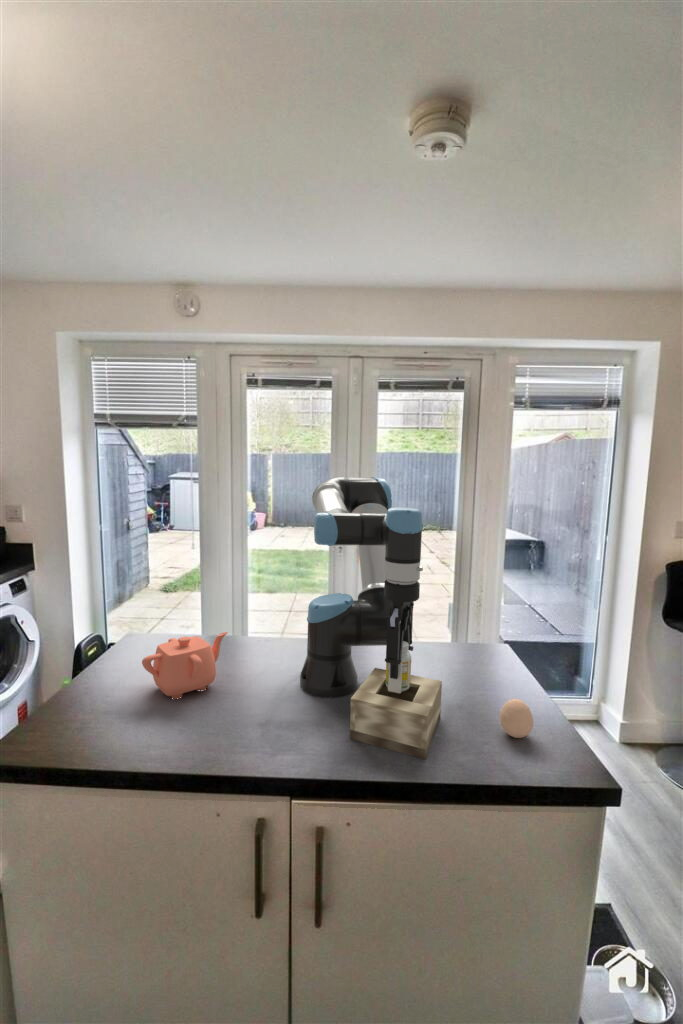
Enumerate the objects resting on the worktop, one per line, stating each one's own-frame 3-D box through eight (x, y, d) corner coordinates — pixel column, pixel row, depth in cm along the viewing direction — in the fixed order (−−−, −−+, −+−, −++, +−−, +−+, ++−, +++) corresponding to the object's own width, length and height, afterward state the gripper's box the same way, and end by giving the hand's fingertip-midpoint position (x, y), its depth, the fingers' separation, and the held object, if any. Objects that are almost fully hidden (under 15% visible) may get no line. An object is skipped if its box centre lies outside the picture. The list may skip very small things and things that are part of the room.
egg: (515, 748, 88) (517, 711, 88) (492, 730, 94) (494, 695, 94) (539, 740, 91) (541, 704, 90) (515, 724, 97) (517, 690, 96)
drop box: (349, 738, 90) (350, 698, 90) (374, 702, 105) (375, 667, 104) (425, 759, 84) (427, 716, 83) (440, 718, 99) (441, 681, 98)
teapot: (139, 702, 103) (138, 649, 102) (167, 672, 118) (167, 626, 117) (209, 705, 102) (209, 651, 101) (228, 674, 118) (228, 628, 117)
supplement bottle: (401, 694, 90) (403, 650, 89) (380, 686, 94) (381, 643, 93) (414, 685, 94) (416, 643, 93) (394, 677, 98) (395, 636, 97)
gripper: (408, 592, 82) (404, 709, 84) (428, 573, 99) (424, 671, 101) (371, 588, 85) (368, 701, 87) (396, 570, 102) (393, 665, 104)
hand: (398, 684), depth 94 cm, fingers closed on supplement bottle, 5 cm apart
